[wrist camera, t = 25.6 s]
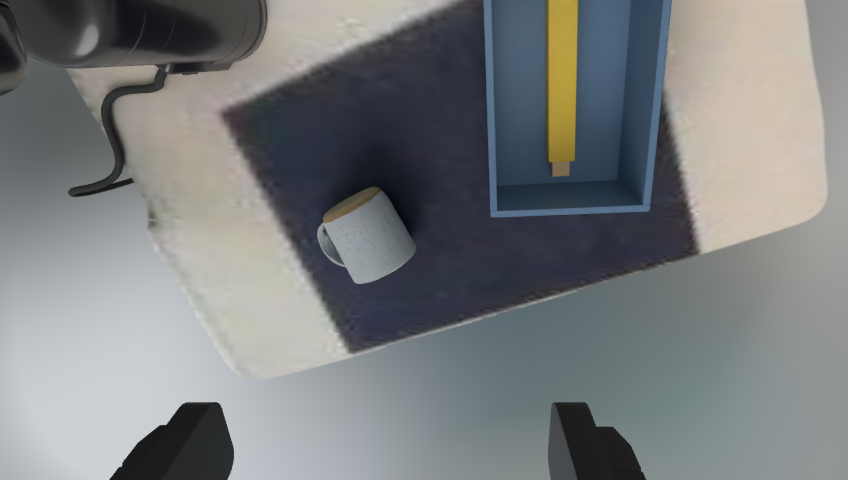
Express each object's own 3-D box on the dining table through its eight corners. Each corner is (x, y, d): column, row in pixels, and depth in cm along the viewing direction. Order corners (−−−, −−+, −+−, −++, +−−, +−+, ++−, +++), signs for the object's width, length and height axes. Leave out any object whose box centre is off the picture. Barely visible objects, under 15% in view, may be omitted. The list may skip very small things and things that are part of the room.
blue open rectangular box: (621, 183, 46) (649, 211, 38) (489, 189, 48) (490, 217, 40) (641, -76, 38) (683, -110, 30) (481, -56, 40) (480, -83, 32)
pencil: (570, 170, 46) (574, 176, 43) (545, 172, 46) (548, 178, 44) (573, -37, 39) (579, -42, 37) (544, -33, 39) (548, -38, 37)
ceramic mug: (385, 174, 49) (367, 196, 42) (422, 238, 51) (411, 268, 44) (307, 215, 52) (278, 242, 45) (345, 273, 54) (323, 307, 47)
